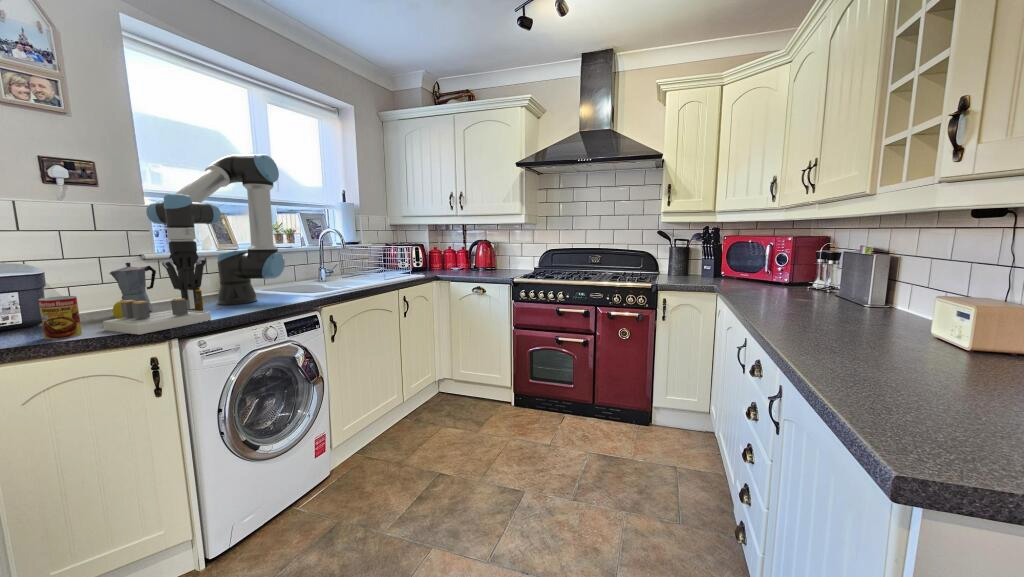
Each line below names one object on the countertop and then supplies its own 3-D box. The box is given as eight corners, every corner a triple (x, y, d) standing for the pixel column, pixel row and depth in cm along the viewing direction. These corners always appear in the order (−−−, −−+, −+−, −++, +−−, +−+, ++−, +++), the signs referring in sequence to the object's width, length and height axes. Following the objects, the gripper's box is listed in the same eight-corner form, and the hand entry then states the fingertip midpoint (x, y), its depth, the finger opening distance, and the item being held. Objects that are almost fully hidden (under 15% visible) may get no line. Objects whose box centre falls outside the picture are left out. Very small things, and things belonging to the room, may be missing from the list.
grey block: (182, 313, 145) (180, 297, 144) (188, 313, 144) (186, 298, 143) (172, 314, 142) (170, 299, 141) (178, 315, 141) (176, 299, 140)
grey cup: (144, 316, 139) (142, 300, 139) (150, 317, 138) (148, 301, 138) (133, 318, 137) (131, 301, 136) (139, 319, 135) (137, 302, 135)
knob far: (133, 315, 141) (131, 299, 141) (138, 316, 140) (136, 300, 140) (122, 317, 139) (120, 300, 138) (128, 317, 138) (125, 301, 137)
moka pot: (107, 315, 160) (99, 263, 157) (150, 308, 174) (144, 260, 172) (125, 316, 157) (118, 263, 155) (168, 309, 172) (161, 260, 169)
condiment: (204, 311, 167) (201, 281, 166) (206, 314, 161) (202, 283, 159) (181, 313, 163) (177, 283, 161) (182, 317, 156) (178, 285, 155)
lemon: (119, 321, 150) (116, 299, 148) (138, 319, 151) (135, 298, 150) (110, 324, 144) (107, 301, 143) (130, 322, 146) (128, 300, 145)
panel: (178, 317, 156) (177, 308, 155) (211, 320, 150) (210, 311, 149) (104, 330, 135) (103, 320, 135) (138, 334, 129) (137, 324, 129)
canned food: (41, 341, 122) (34, 300, 121) (49, 335, 129) (42, 297, 127) (78, 336, 127) (72, 298, 125) (84, 332, 133) (79, 295, 132)
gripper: (168, 241, 135) (176, 312, 138) (209, 240, 147) (216, 305, 150) (153, 241, 138) (162, 311, 141) (195, 240, 150) (202, 304, 153)
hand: (190, 308), depth 145 cm, fingers closed
